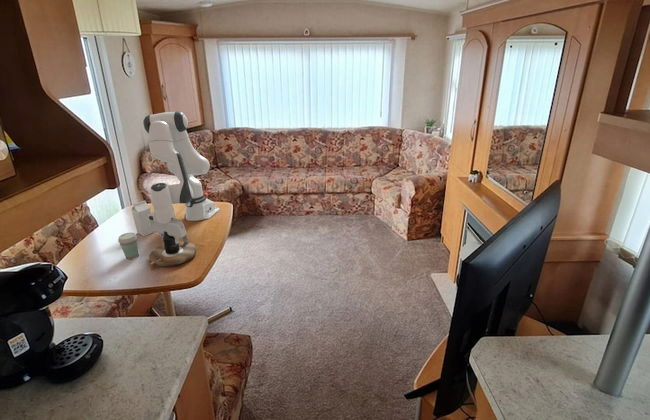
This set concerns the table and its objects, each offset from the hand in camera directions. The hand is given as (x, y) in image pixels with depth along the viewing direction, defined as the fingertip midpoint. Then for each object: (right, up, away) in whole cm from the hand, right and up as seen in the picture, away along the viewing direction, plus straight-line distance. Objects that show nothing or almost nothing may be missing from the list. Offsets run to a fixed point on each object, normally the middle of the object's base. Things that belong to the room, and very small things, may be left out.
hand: (170, 241), depth 181 cm
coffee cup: (-21, -8, +4) cm, 23 cm away
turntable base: (-1, -9, +1) cm, 9 cm away
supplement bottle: (0, -5, +2) cm, 6 cm away
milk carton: (-27, +3, +30) cm, 40 cm away
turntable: (0, -7, +3) cm, 7 cm away
